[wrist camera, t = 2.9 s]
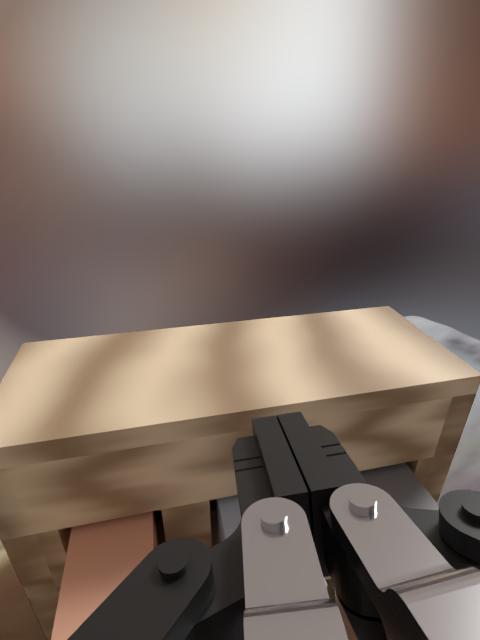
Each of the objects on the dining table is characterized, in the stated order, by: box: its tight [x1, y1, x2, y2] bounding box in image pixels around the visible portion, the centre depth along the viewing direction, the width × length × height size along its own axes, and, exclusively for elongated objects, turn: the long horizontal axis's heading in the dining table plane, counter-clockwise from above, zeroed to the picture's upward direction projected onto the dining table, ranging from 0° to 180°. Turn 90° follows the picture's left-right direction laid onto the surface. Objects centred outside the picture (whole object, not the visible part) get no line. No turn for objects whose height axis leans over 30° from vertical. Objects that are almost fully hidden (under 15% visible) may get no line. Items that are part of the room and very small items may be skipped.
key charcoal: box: [360, 463, 439, 510], centre depth 21 cm, size 4×6×4 cm, turn 13°
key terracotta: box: [51, 511, 159, 640], centre depth 18 cm, size 4×6×4 cm, turn 13°
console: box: [0, 306, 480, 640], centre depth 25 cm, size 25×9×16 cm, turn 103°
